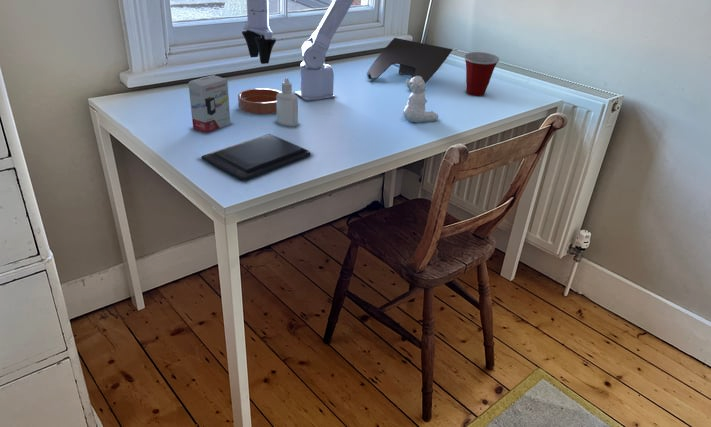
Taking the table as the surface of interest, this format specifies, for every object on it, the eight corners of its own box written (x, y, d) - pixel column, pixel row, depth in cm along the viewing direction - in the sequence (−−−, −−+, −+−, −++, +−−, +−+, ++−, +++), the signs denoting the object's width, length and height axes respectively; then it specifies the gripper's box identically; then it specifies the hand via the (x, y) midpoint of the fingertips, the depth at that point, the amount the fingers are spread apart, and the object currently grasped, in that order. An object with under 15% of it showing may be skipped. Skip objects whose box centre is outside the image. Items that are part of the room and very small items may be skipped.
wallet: (241, 174, 102) (198, 150, 111) (242, 182, 103) (199, 158, 112) (314, 148, 115) (271, 129, 124) (314, 156, 116) (271, 136, 125)
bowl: (273, 98, 150) (273, 86, 148) (293, 111, 141) (293, 99, 139) (231, 103, 143) (231, 91, 142) (249, 118, 134) (248, 105, 133)
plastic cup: (455, 95, 162) (461, 57, 156) (462, 86, 171) (468, 50, 165) (489, 101, 159) (496, 62, 153) (494, 92, 168) (501, 55, 162)
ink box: (206, 133, 124) (201, 85, 118) (192, 128, 126) (186, 81, 120) (231, 124, 130) (228, 78, 124) (217, 119, 132) (213, 74, 126)
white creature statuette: (439, 120, 141) (445, 77, 135) (419, 127, 136) (425, 83, 130) (412, 111, 147) (417, 69, 141) (393, 117, 141) (397, 74, 135)
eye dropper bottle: (284, 128, 129) (283, 82, 123) (275, 121, 133) (274, 75, 127) (299, 126, 131) (299, 80, 125) (290, 119, 135) (289, 74, 129)
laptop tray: (364, 93, 177) (358, 72, 170) (397, 54, 187) (393, 32, 180) (422, 109, 166) (419, 87, 159) (454, 66, 176) (452, 43, 169)
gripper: (233, 5, 142) (236, 55, 149) (254, 15, 132) (256, 67, 139) (257, 4, 145) (259, 53, 152) (279, 14, 135) (280, 65, 142)
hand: (259, 60), depth 146 cm, fingers open, 7 cm apart
